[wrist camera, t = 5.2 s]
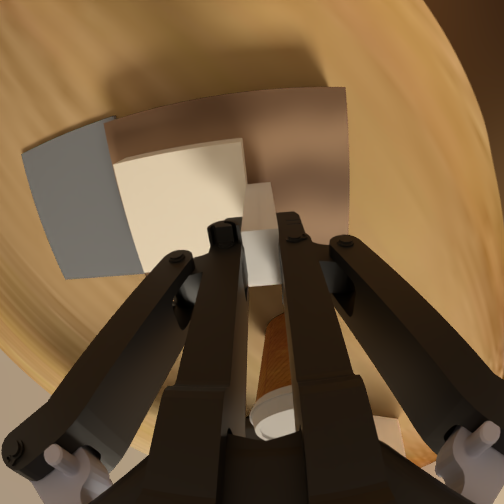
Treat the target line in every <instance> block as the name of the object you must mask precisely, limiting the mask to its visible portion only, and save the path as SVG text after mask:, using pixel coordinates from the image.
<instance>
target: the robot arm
mask: <svg viewBox="0 0 504 504" xmlns="http://www.w3.org/2000/svg"><path fill="white" fill-rule="evenodd" d="M207 232H208V237H209V242H210V249H209V253H207V254H205V255H202V256H198V257H194V258H193V255H192V252H190V251H188V250H176V251H172V252H171V253H169V254H167V255H166V256H164V257H163V258H162V260H161V261H160V262H159V263H158V264H157V265H156V266H155V267H154V268H153V270H152V271H151V272H150V273H149V274H148V275H147V276H146V277H145V279H144V280H143V281H142V282H141V283H140V284H139V286H138V287H137V288H136V289H135V290H134V291H133V292H132V294H131V295H130V296H129V297H128V298H127V300H126V301H125V302H124V303H123V304H122V305H121V307H120V308H119V309H118V310H117V311H116V313H115V314H114V315H113V316H112V317H111V319H110V320H109V321H108V322H107V324H106V325H105V326H104V327H103V329H102V330H101V331H100V332H99V334H98V335H97V336H96V337H95V339H94V340H93V341H92V342H91V344H90V345H89V346H88V347H87V349H86V350H85V351H84V353H83V354H82V355H81V357H80V358H79V359H78V360H77V362H76V363H75V364H74V366H73V367H72V368H71V370H70V371H69V372H68V374H67V375H66V376H65V378H64V379H63V381H62V382H61V383H60V385H59V386H58V387H57V389H56V390H55V392H54V393H53V394H52V396H51V397H50V399H49V400H48V402H47V403H45V404H44V405H43V406H42V407H41V408H39V409H38V410H37V411H36V412H34V413H33V414H32V415H31V416H30V417H28V418H27V419H26V420H25V421H24V422H22V423H21V424H20V425H19V426H18V427H16V428H15V429H14V430H13V431H12V432H10V433H9V434H8V436H7V437H6V438H5V440H4V442H3V444H2V458H3V461H4V463H5V464H6V466H8V467H9V468H10V469H12V470H13V471H15V472H16V473H18V474H20V475H22V476H23V477H25V478H27V479H28V480H29V481H30V482H32V484H33V485H34V487H35V489H36V491H37V493H38V494H39V496H40V498H41V499H42V501H43V502H44V504H493V502H494V500H495V499H496V497H497V495H498V494H499V492H500V490H501V489H502V487H503V485H504V380H503V379H501V378H500V377H498V376H497V375H495V374H494V373H493V372H492V371H491V370H490V368H489V367H488V366H487V365H486V364H485V363H484V361H483V360H482V359H481V358H480V357H479V356H478V355H477V353H476V352H475V351H474V350H473V349H472V348H471V347H470V346H469V344H468V343H467V342H466V341H465V340H464V339H463V338H462V337H461V336H460V335H459V334H458V332H457V331H456V330H455V329H454V328H453V327H452V326H451V325H450V324H449V323H448V322H447V321H446V320H445V319H444V318H443V317H442V316H441V315H440V314H439V313H438V312H437V311H436V310H435V309H434V308H433V307H432V306H431V305H430V304H429V303H428V302H427V301H426V300H425V299H424V298H423V297H422V296H421V295H420V294H419V293H418V292H417V291H416V290H415V289H414V288H413V287H412V286H411V285H410V284H409V283H408V282H407V281H405V280H404V279H403V278H402V277H401V276H400V275H399V274H398V273H397V272H396V271H395V270H394V269H392V268H391V267H390V266H389V265H388V264H387V263H386V262H385V261H384V260H382V259H381V258H380V257H379V256H378V255H377V254H376V253H375V252H373V251H372V250H371V249H370V248H369V247H368V246H367V245H365V244H364V243H363V242H362V241H361V240H360V239H358V238H356V237H354V236H351V235H346V234H343V235H337V236H334V237H332V238H331V239H330V242H329V245H325V244H318V243H314V242H312V240H311V237H310V236H309V235H308V234H306V233H305V230H304V227H303V224H302V222H301V219H300V216H299V214H297V213H296V212H294V211H291V212H279V213H276V211H275V205H274V199H273V194H272V188H271V182H265V183H255V184H246V190H245V199H244V208H243V217H233V218H226V219H225V220H222V221H217V222H215V223H212V224H211V225H209V226H208V227H207ZM277 284H282V300H283V304H284V313H285V323H286V332H287V342H288V352H289V362H290V373H291V384H292V395H293V406H294V419H295V432H294V433H291V434H288V435H285V436H281V437H278V438H274V439H271V440H266V441H265V440H263V439H261V438H260V437H258V436H257V434H256V433H255V429H254V426H253V425H252V424H251V422H250V419H249V417H248V418H245V409H246V375H247V341H248V307H249V291H248V286H249V287H252V286H265V285H277ZM173 300H174V301H173ZM334 307H335V309H336V310H337V311H338V313H339V314H340V316H341V317H342V319H343V320H344V321H345V323H346V324H347V326H348V327H349V329H350V330H351V332H352V333H353V334H354V336H355V337H356V339H357V340H358V342H359V343H360V345H361V346H362V348H363V349H364V351H365V352H366V354H367V355H368V357H369V358H370V360H371V361H372V362H373V364H374V365H375V367H376V368H377V370H378V372H379V373H380V375H381V376H382V378H383V379H384V381H385V382H386V384H387V385H388V387H389V388H390V390H391V391H392V393H393V394H394V396H395V398H396V399H397V401H398V402H399V404H400V405H401V407H402V408H403V410H404V412H405V413H406V415H407V416H408V418H409V420H410V421H411V423H412V424H413V426H414V428H415V429H416V431H417V432H418V433H419V435H420V436H421V438H422V439H423V441H424V442H425V443H426V444H427V445H428V446H429V447H430V448H431V449H432V451H433V452H435V453H436V454H437V459H436V466H435V472H436V475H438V476H439V477H442V478H443V479H444V481H445V484H446V485H445V484H443V483H442V482H440V481H439V480H437V479H436V478H434V477H432V476H431V475H430V474H428V473H427V472H425V471H424V470H422V469H421V468H420V467H418V466H417V465H415V464H414V463H412V462H411V461H410V460H408V459H407V458H405V457H404V456H403V455H401V454H400V453H398V452H397V451H396V450H394V449H393V448H392V447H390V446H389V445H387V444H386V443H384V442H382V441H380V440H379V439H378V435H377V431H376V427H375V423H374V419H373V415H372V411H371V407H370V403H369V399H368V396H367V392H366V388H365V385H364V382H363V379H362V378H361V376H360V375H355V374H354V373H353V370H352V367H351V363H350V359H349V356H348V352H347V349H346V345H345V342H344V338H343V335H342V332H341V328H340V325H339V322H338V318H337V315H336V312H335V309H334ZM183 346H184V349H183V354H182V358H181V362H180V367H179V371H178V375H177V380H176V383H175V385H174V386H167V388H166V389H165V390H164V392H163V395H162V398H161V403H160V407H159V411H158V415H157V420H156V424H155V429H154V433H153V438H152V443H151V447H150V452H149V455H148V456H147V457H146V458H145V459H143V460H142V461H141V462H140V463H139V464H138V465H137V466H135V467H134V468H133V469H132V470H130V471H129V472H128V473H127V474H126V475H124V476H123V477H122V478H121V479H119V480H118V481H117V482H116V483H114V484H113V483H112V481H111V479H109V473H110V472H111V471H112V470H113V469H114V468H115V466H116V465H117V464H118V463H119V461H120V460H121V459H122V458H123V456H124V454H125V452H126V451H127V449H128V448H129V446H130V444H131V442H132V440H133V438H134V437H135V435H136V433H137V431H138V429H139V427H140V425H141V423H142V422H143V420H144V418H145V416H146V414H147V412H148V410H149V409H150V407H151V405H152V403H153V401H154V399H155V397H156V396H157V394H158V392H159V390H160V388H161V386H162V385H163V383H164V381H165V379H166V377H167V375H168V374H169V372H170V370H171V368H172V366H173V364H174V363H175V361H176V359H177V357H178V355H179V354H180V352H181V350H182V348H183Z"/></svg>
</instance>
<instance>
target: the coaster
mask: <svg viewBox="0 0 504 504" xmlns="http://www.w3.org/2000/svg"><path fill="white" fill-rule="evenodd" d="M113 166H114V171H115V175H116V179H117V183H118V187H119V191H120V195H121V199H122V202H123V206H124V210H125V213H126V217H127V220H128V224H129V227H130V230H131V234H132V237H133V240H134V243H135V247H136V250H137V253H138V256H139V259H140V262H141V265H142V268H143V271H144V273H147V272H151V271H152V270H153V268H154V267H155V266H156V265H157V264H158V263H159V262H160V261H161V260H162V258H163V257H164V256H166V255H167V254H169V253H171V252H172V251H176V250H188V251H190V252H192V255H193V258H194V257H198V256H202V255H205V254H207V253H209V249H210V242H209V237H208V232H207V227H208V226H209V225H211V224H212V223H215V222H217V221H222V220H225V219H226V218H233V217H243V208H244V199H245V190H246V184H248V182H247V173H246V165H245V156H244V148H243V139H242V138H235V139H227V140H219V141H212V142H205V143H198V144H192V145H186V146H180V147H175V148H169V149H164V150H159V151H154V152H149V153H144V154H140V155H135V156H131V157H127V158H124V159H123V160H121V161H119V162H117V163H115V164H113Z"/></svg>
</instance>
